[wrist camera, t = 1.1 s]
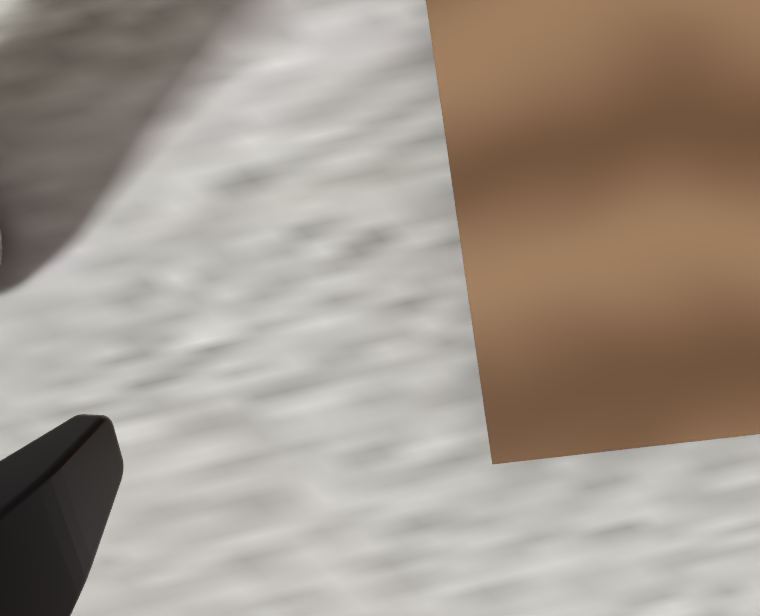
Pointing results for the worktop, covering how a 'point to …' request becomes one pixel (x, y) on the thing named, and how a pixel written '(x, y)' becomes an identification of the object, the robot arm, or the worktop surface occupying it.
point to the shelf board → (607, 216)
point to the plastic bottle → (0, 247)
